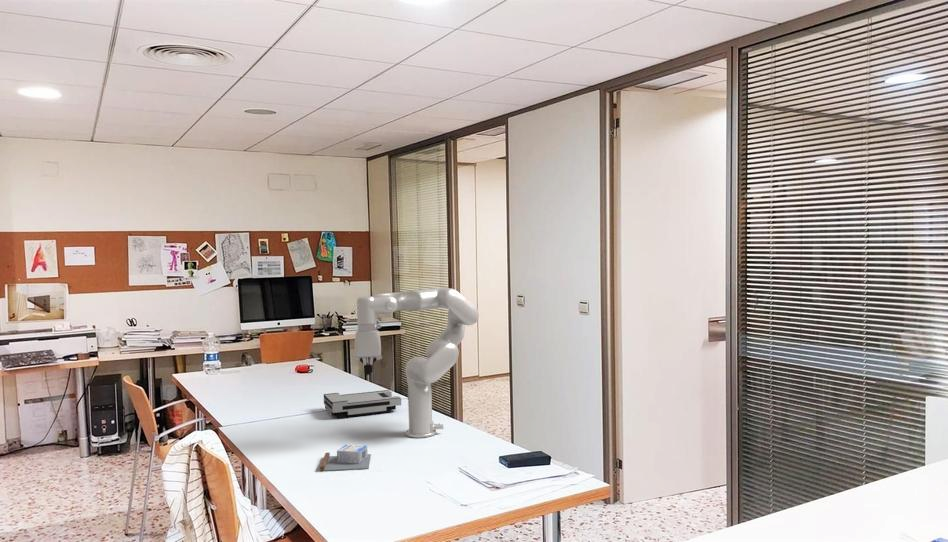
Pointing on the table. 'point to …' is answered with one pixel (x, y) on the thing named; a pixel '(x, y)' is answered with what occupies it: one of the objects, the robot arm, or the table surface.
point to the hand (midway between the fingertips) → (368, 374)
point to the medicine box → (352, 454)
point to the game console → (360, 404)
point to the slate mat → (346, 464)
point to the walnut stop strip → (324, 461)
